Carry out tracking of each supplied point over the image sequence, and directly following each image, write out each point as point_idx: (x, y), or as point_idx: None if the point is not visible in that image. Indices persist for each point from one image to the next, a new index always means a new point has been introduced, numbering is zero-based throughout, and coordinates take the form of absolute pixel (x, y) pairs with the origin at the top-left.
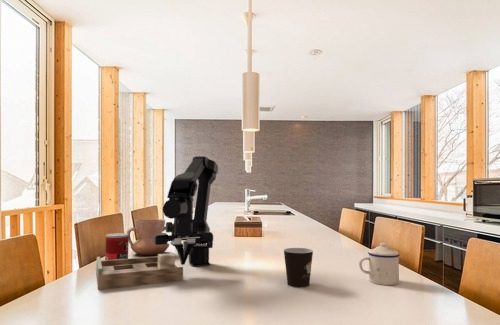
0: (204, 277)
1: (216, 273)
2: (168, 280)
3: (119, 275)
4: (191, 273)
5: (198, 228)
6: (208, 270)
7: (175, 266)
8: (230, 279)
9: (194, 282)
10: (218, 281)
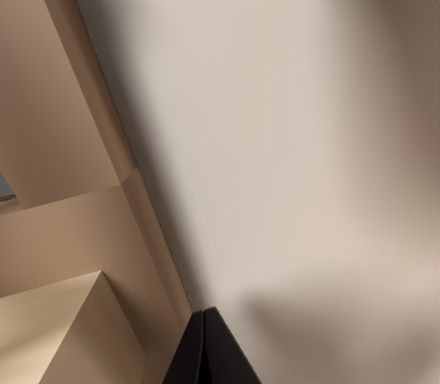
0: (322, 293)
1: (411, 218)
2: None
3: None
4: (261, 201)
5: None
6: (392, 128)
7: (134, 246)
8: (425, 327)
9: (260, 366)
10: (366, 353)
